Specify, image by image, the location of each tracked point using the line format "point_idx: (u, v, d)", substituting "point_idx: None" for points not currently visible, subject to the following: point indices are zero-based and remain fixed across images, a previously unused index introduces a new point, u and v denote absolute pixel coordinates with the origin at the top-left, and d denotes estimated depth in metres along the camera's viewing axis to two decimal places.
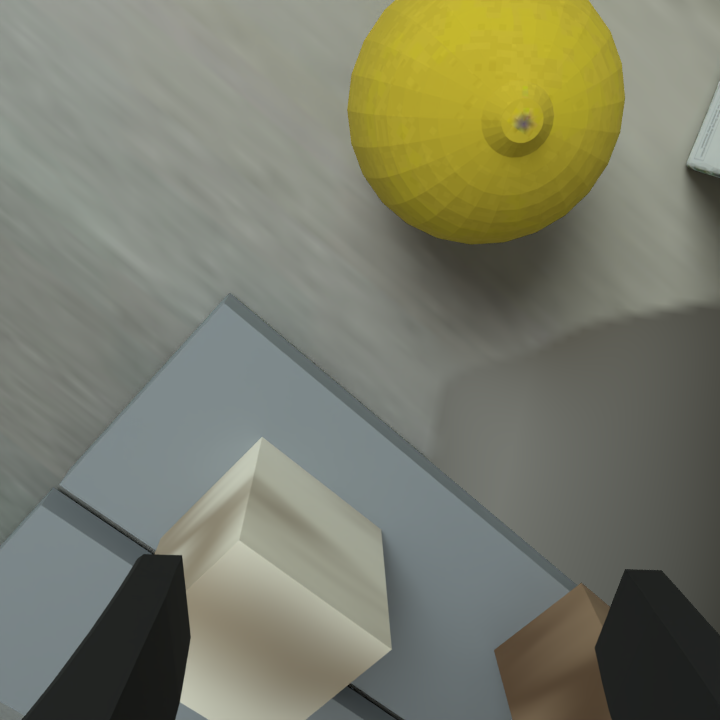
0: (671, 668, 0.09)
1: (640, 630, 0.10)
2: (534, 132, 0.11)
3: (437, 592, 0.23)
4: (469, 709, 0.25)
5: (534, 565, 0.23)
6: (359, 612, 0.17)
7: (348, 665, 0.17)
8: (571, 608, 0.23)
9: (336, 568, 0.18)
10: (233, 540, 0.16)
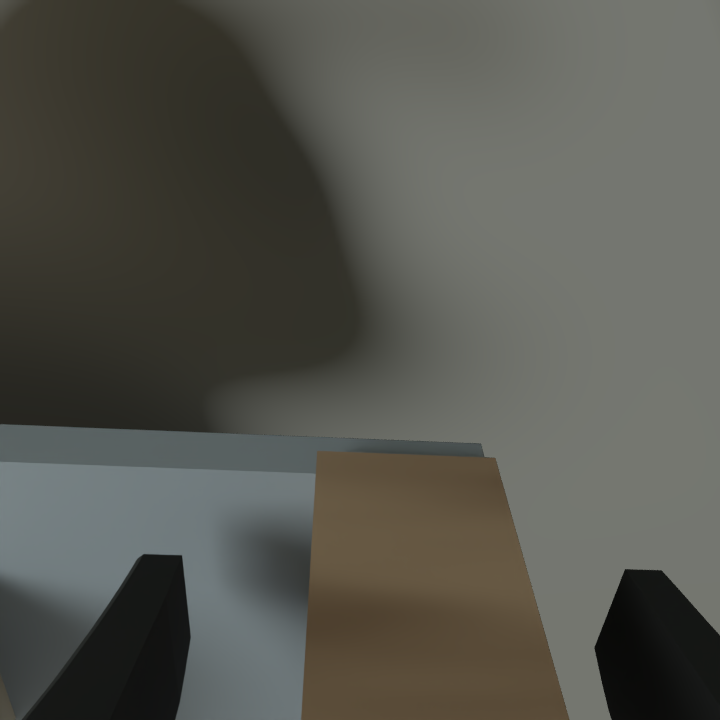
0: (671, 668, 0.09)
1: (640, 630, 0.10)
2: None
3: None
4: None
5: (214, 474, 0.12)
6: None
7: None
8: None
9: None
10: None
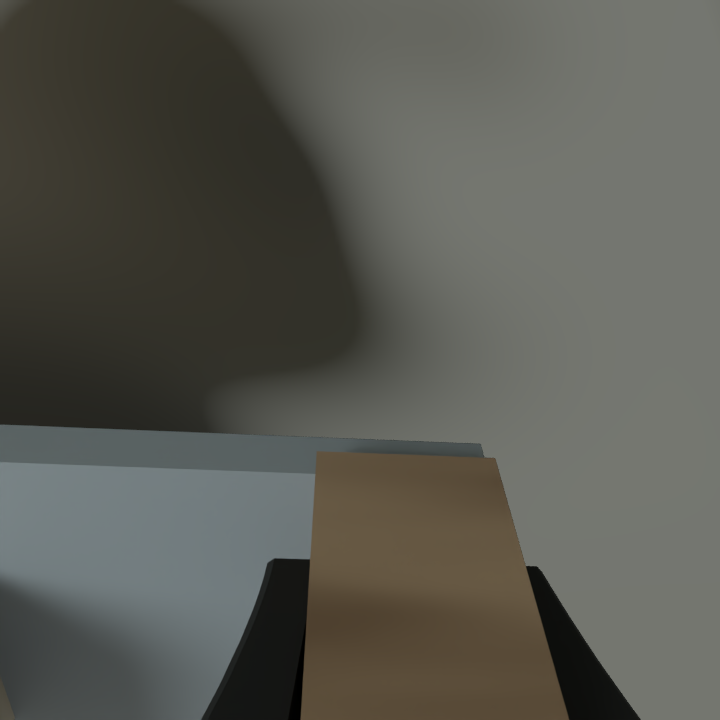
0: None
1: None
2: None
3: (137, 588, 0.13)
4: None
5: (213, 474, 0.12)
6: None
7: None
8: None
9: None
10: None
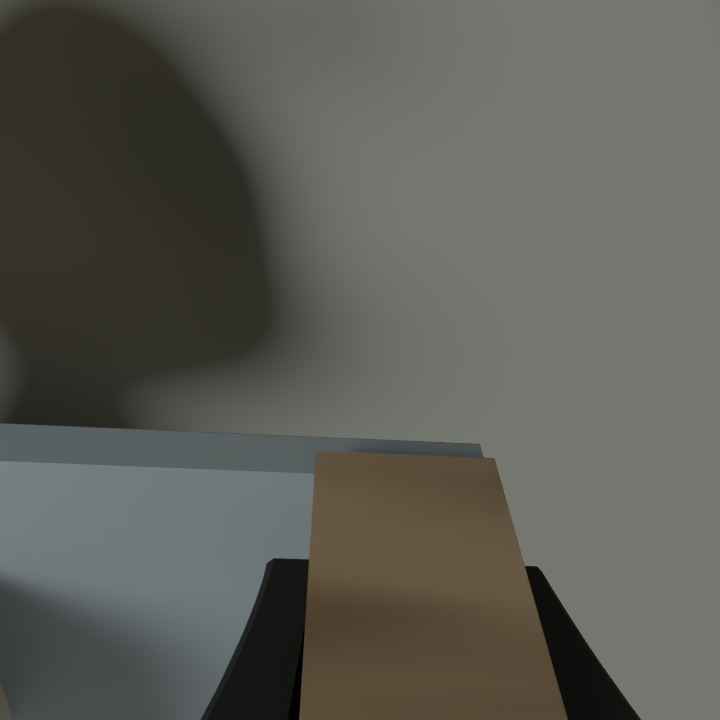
0: None
1: None
2: None
3: (136, 588, 0.13)
4: None
5: (212, 474, 0.12)
6: None
7: None
8: None
9: None
10: None
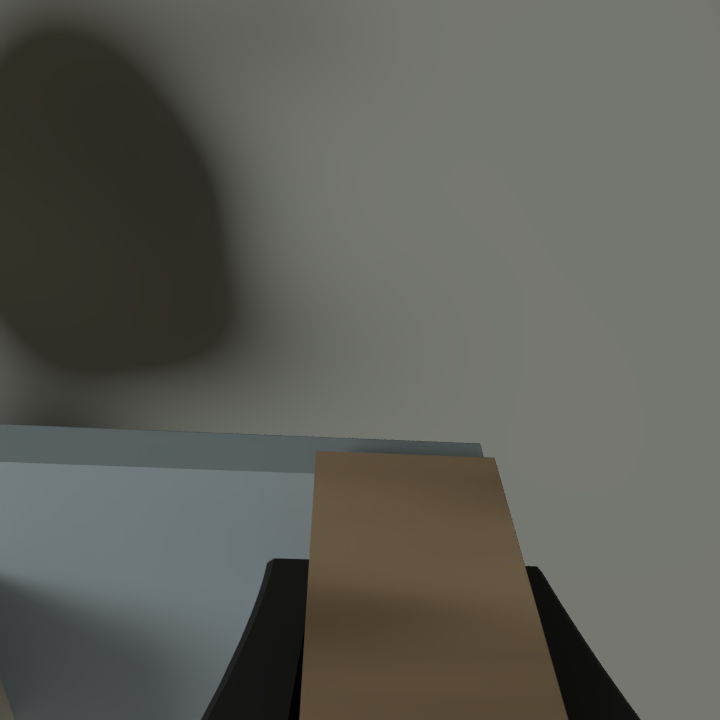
0: None
1: None
2: None
3: (137, 588, 0.13)
4: None
5: (212, 474, 0.12)
6: None
7: None
8: None
9: None
10: None
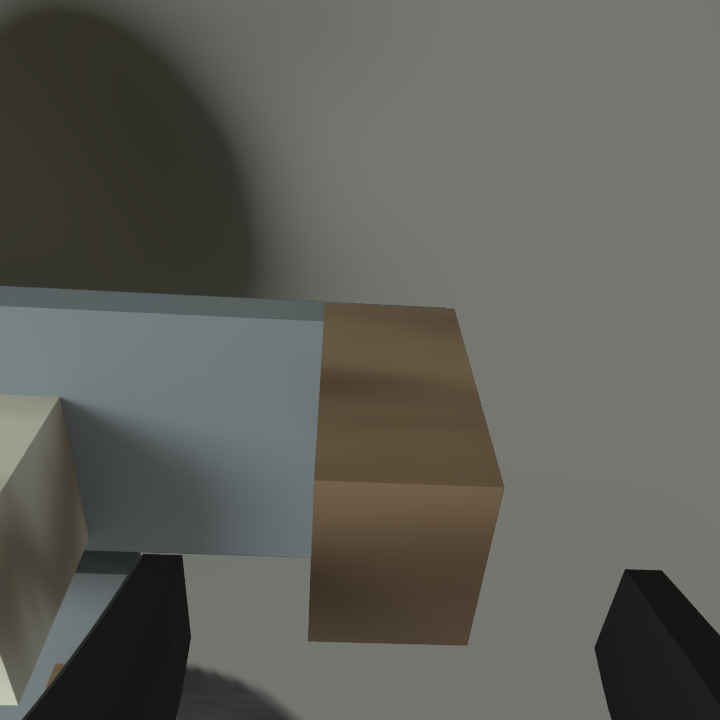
0: (671, 668, 0.09)
1: (640, 630, 0.10)
2: None
3: (190, 420, 0.17)
4: None
5: (249, 321, 0.16)
6: None
7: None
8: None
9: None
10: None
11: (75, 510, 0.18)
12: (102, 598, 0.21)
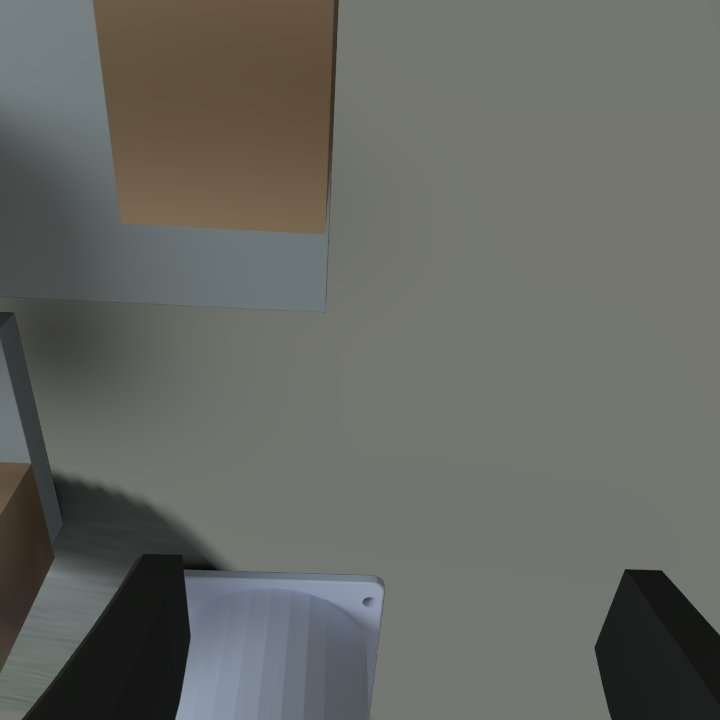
0: (671, 668, 0.09)
1: (640, 630, 0.10)
2: None
3: (41, 96, 0.15)
4: (265, 238, 0.17)
5: None
6: None
7: None
8: None
9: None
10: None
11: None
12: None
